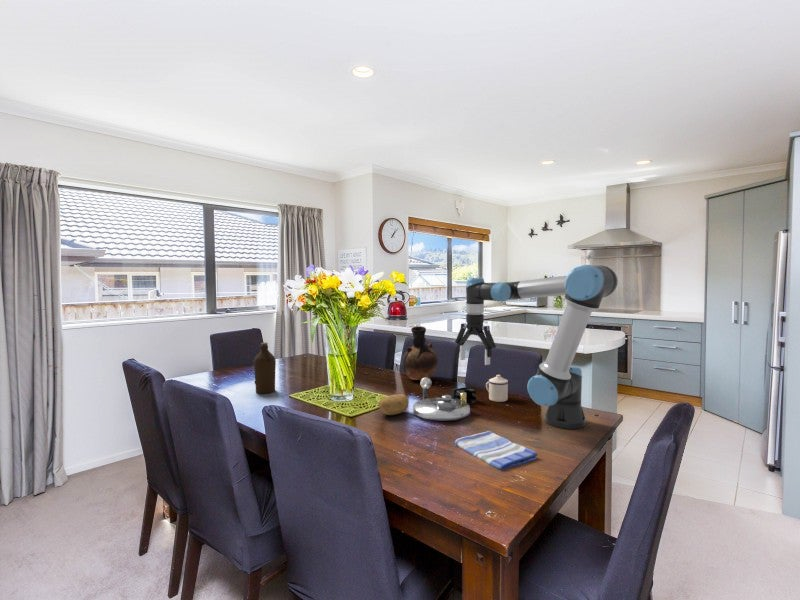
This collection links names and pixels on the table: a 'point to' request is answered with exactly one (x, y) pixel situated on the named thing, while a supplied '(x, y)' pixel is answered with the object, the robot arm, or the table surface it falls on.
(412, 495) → the table surface
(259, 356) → the olive oil
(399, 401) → the potato
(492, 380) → the teacup with lid
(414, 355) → the ceramic vessel
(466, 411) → the turntable
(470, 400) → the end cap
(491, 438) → the dish towel
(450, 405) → the cover
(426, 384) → the dial stand
